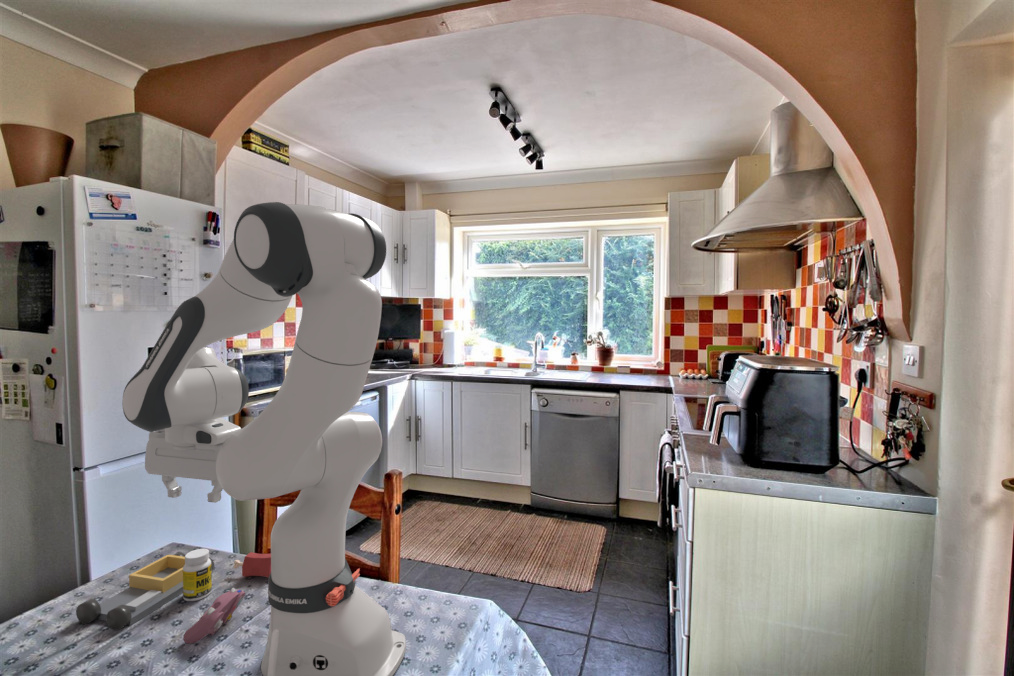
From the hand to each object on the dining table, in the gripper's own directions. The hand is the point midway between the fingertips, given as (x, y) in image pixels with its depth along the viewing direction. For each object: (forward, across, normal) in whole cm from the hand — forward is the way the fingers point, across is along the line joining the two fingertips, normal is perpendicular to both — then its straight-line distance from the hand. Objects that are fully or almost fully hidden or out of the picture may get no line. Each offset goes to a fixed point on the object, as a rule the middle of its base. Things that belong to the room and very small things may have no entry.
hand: (194, 499), depth 92 cm
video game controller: (+20, +12, -7) cm, 24 cm away
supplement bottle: (+20, 0, 0) cm, 20 cm away
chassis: (+19, -8, -2) cm, 21 cm away
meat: (+20, +7, +9) cm, 23 cm away
